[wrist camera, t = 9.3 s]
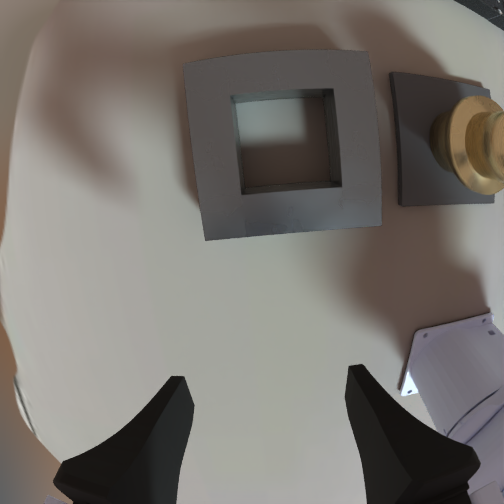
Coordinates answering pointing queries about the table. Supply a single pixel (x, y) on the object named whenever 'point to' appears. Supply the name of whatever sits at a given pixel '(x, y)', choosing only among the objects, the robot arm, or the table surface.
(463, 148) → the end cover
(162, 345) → the table surface
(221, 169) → the housing
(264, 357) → the table surface
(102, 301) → the table surface
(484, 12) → the disk drive
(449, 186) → the mat
